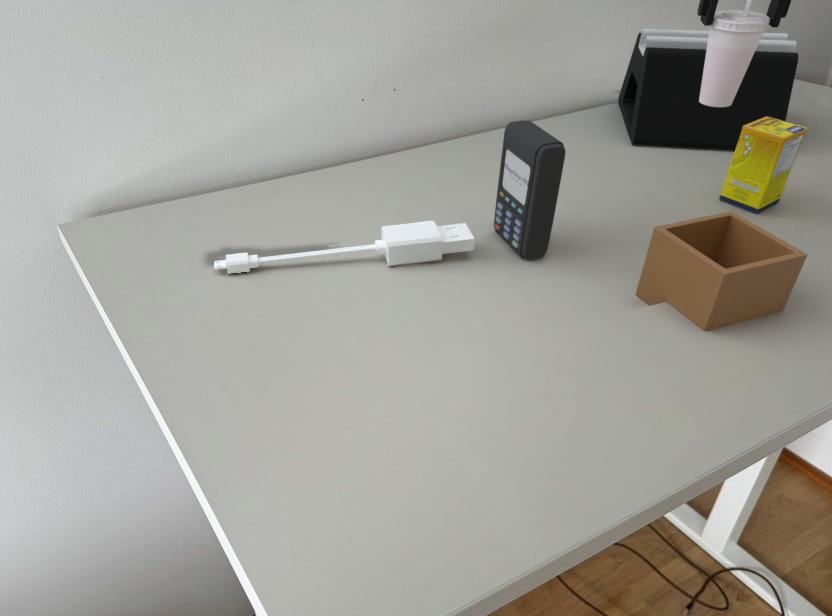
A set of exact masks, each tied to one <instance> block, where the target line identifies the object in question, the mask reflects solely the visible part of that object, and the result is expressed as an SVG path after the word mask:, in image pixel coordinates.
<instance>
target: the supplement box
mask: <svg viewBox="0 0 832 616" xmlns="http://www.w3.org/2000/svg"><path fill="white" fill-rule="evenodd" d="M807 130H808V128H807V127H806V126H802V125H799V124H795V123H791V122H788V121H781V120H778V119H775V118H771V117H764V118H761V119H759V120H756V121H754V122H751V123H749V124H746V125H744V126H743V127H742V131H741V134H740V137H739V140H738V143H737V146H736V149H735V150H734V153H733V155H732V158H731V161H730V164H729V167H728V171H727V173H726V176H725V179H724V183H723V185H722V188H721V191H720V195H719V199H718V201H720V202H723V203H727V204H729V205H731V206H734V207H736V208H739V209H742V210H744V211H747V212H749V213H753V214H756V215H757V214H760V213H761V212H763V211H765V210H767V209H768V208H771V207H772V206H774V205H776V204H778V203H780V200H781V197H782V194H783V192H784V189H785V186H786V185H787V182H788V179H789V176H790V174H791V172H792V169H793V166H794V163H795V161H796V158H797V156H798V154H799V151H800V148H801V145H802V143H803V140H804V137H805V135H806V133H807Z"/></svg>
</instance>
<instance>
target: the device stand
mask: <svg viewBox="0 0 832 616" xmlns="http://www.w3.org/2000/svg"><path fill="white" fill-rule="evenodd" d="M708 36H709V30H692V29H691V30H690V29H689V30H687V29H664V28H663V29H662V28H661V29H660V28H659V29H657V28H642V30H641V32H639V33H638V34H637V37H636V40H635V43H634V46H633V49H632V53H631V56H630V60H629V62H628V66H627V68H626V72H625V76H624V79H623V82H622V85H621V88H620V91H619V95H618V99H617V104H618V107H619V110H620V113H621V116H622V120H623V122H624V125H625V128H626V132H627V135H628V139H629V141H630V143H631V145H632V146H651V147H670V148H686V149H703V150H704V149H705V150H719V151H720V150H721V151H722V150H723V151H735V149H736V146H737V143H738V140H739V137H740V134H741V131H742V127H743V126H744V125H746V124H749V123H751V122H754V121H756V120H759V119H761V118H764V117H771V118H775V119H778V120H781V121H785V122H787V117H788V111H789V106H790V102H791V97H792V92H793V88H794V83H795V77H796V72H797V69H798V64H799V53H798V52H795V50H796V47H797V41H796V40H788V39H789V34H788V33H787V32H786V33H785V32H784V33H783V32H782V33H781V32H780V33H779V32H763V34H762V36H761V39H760V41H759V44H758V46H757V48H756V50H755V52H754V55H753V57H752V59H751V61H750V64H749V66H748V68H747V70H746V73H745V75H744V77H743V80H742V82H741V84H740V86H739V89H738V91H737V93H736V95H735V98H734V100H733V102H732V104H731V105H730V106H728V107H712V106H707V105H704V104H702V103H700V102H699V97H700V91H701V84H702V77H703V70H704V63H705V57H706V50H707V43H708Z"/></svg>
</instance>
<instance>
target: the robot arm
mask: <svg viewBox="0 0 832 616" xmlns="http://www.w3.org/2000/svg"><path fill="white" fill-rule="evenodd" d="M791 3H792V0H770V2H769V5H768V8H767V12H766V14H765V15H767V16H768V17H770V23H769V26H770V27H771V28H778V27H779V26H780V23H781V20H782V19H785V18H786V17H787V15H788V12H789V9H790V7H791ZM718 4H719V0H699V2H698V8H697V16H698V17H700V22H701V23H702V24H703V26H704V27H710V25H711V24H712V22H713V19H714V15H715V12H717V8H718Z"/></svg>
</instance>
